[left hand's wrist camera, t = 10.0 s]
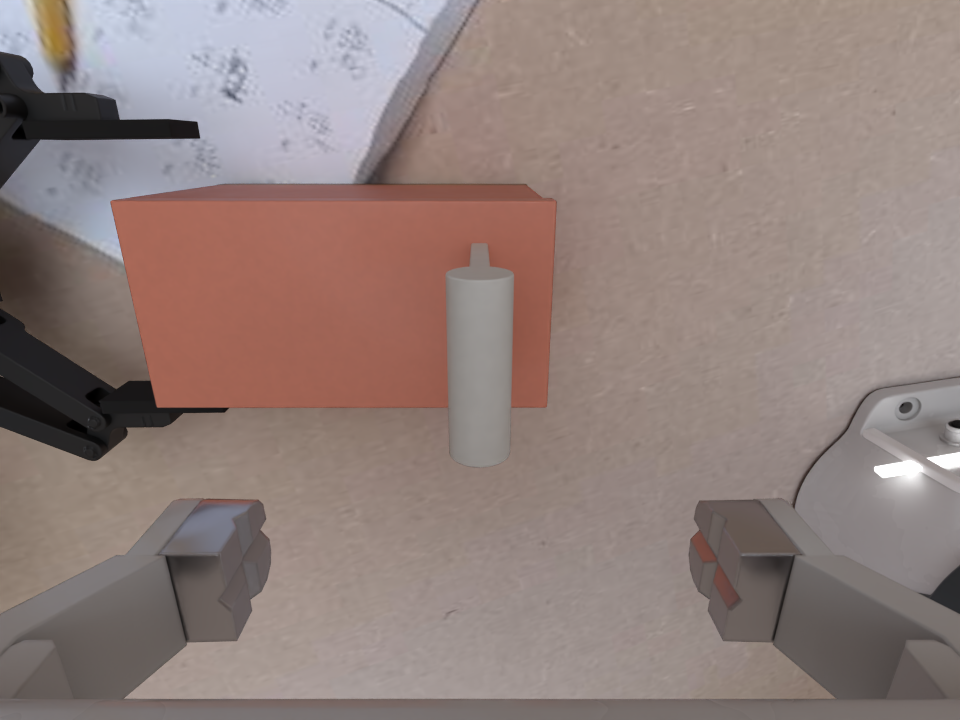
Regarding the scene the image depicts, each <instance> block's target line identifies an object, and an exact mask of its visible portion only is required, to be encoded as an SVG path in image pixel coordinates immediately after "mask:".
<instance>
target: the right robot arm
mask: <svg viewBox="0 0 960 720" xmlns="http://www.w3.org/2000/svg"><path fill="white" fill-rule="evenodd" d="M32 78H33V68H32V66H31V64H30V63H29V62H28V60H27V59H26V58H24V57H22V56H19V55H14V54H9V53H4V52H0V188H1V187H2V186H3V185H4V184H5V182H6V181H7V180H8V179H9V177H10V176H11V175H12V174H13V173H14V171H15V170H16V169H17V168H18V166H19V165H20V164H21V163H22V162H23V160H24V159H25V158H26V157H27V155H28V154H29V153H30V152H31V150H32V149H33V148H34V147H35V146H36V144H37V143H38V142H39V141H40V140H112V139H197V138H200V135H199V129H198V123H197V122H193V121H182V120H171V119H148V120H120V119H119V114H118V110H117V105H116V100H114V99H111V98H109V97H106V96H104V95H97V94H89V93H43V92H42V91H41V90H40V89H39V88H38V87H37V86H36V84H35V83H34V81H33V79H32ZM0 301H3V300H2V297H1V294H0ZM24 329H25V326H24V324H23V323H22V322H21V321H19V320H18V319H16V318H14V317H13V316H11V315H10V314H8V313H7V312H5V311H3V310H2V309H0V375H1V376H3V377H1V376H0V427H2V428H5V429H8V430H10V431H13V432H16V433H18V434H21V435H24V436H26V437H29V438H32V439H34V440H37V441H40V442H42V443H45V444H47V445H50V446H53V447H55V448H58V449H61V450H63V451H66V452H69V453H71V454H74V455H77V456H79V457H82V458H85V459H87V460H91V461H96V460H98V459H100V458H101V457H103V456H104V455H105V454H106V453H107V452H109V451H110V450H111V449H112V448H114V447H115V446H116V445H117V444H118V443H120V442H121V441H122V440H123V439H124V438H126V436H127V432H128V431H127V429H126V427H164V426H167V425H169V424H171V423H173V422H174V421H175V420H176V419H177V418H178V417H179V416H180V415H181V414H183V413H224V412H226V411H227V409H228V408H158V407H157V406H156V402H155V398H154V393H153V389H152V384H151V381H128V382H127V383H125V384H124V385H122V386H121V387H119V388H118V389H115V388H113V387H112V386H110V385H108V384H107V383H105V382H104V381H102V380H101V379H99V378H97V377H96V376H94V375H93V374H91V373H90V372H88V371H86V370H85V369H83V368H82V367H80V366H79V365H77V364H75V363H74V362H72V361H71V360H69V359H68V358H66V357H64V356H63V355H61V354H60V353H58V352H57V351H55V350H53V349H52V348H50V347H49V346H47V345H46V344H44V343H42V342H41V341H39V340H38V339H36V338H35V337H33V336H31V335H30V334H28V333H27V332H26V331H25V330H24Z"/></svg>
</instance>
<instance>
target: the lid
mask: <svg viewBox="0 0 960 720" xmlns="http://www.w3.org/2000/svg"><path fill="white" fill-rule="evenodd" d="M556 206H557V202H556V201H555V200H554V199H552V198H125V199H118V200H112V201H111V207H112V211H113V216H114V220H115V225H116V229H117V234H118V238H119V242H120V247H121V251H122V256H123V260H124V265H125V269H126V274H127V278H128V282H129V287H130V291H131V296H132V300H133V305H134V309H135V313H136V318H137V322H138V327H139V331H140V336H141V340H142V344H143V349H144V353H145V358H146V362H147V367H148V371H149V375H150V380H151V384H152V389H153V393H154V398H155V402H156V406H157V407H158V408H447V407H448V417H449V453H450V456H451V457H452V459H453V460H455V461H456V462H458V463H460V464H462V465H465V466H469V467H479V468H480V467H490V466H495V465H497V464H500V463H502V462H503V461H505V460H506V459H507V458H508V456H509V454H510V435H511V407H547V395H548V374H549V353H550V332H551V311H552V290H553V269H554V248H555V227H556Z"/></svg>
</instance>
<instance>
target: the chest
mask: <svg viewBox="0 0 960 720" xmlns="http://www.w3.org/2000/svg"><path fill="white" fill-rule="evenodd" d="M132 198H542V197H541V196H539V195H538V194H537V193H536V192H534V191H533V190H532V189H531V188H529V187H528V186H527V185H526V184H220V185H215V186H208V187H201V188H194V189H187V190H180V191H173V192H166V193H160V194H153V195H146V196H139V197H132Z"/></svg>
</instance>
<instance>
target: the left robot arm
mask: <svg viewBox="0 0 960 720" xmlns="http://www.w3.org/2000/svg"><path fill="white" fill-rule="evenodd" d="M904 402H905V403H904ZM902 403H904V405H903V406H902V407H901V408H899V407H900V405H901V404H902ZM265 520H266V516H265V511H264V506H263V504H262V503H261V502H260V501H259V500H244V499H178V500H174V501H173V502H172V503H171V504H170V505H169V506H168V507H167V508H166V509H165V511H164V512H163V513H162V514H161V515H160V516H159V517H158V518H157V520H156V521H155V522H154V523H153V524H152V525H151V526H150V528H149V529H148V530H147V531H146V532H145V533H144V534H143V536H142V537H141V538H140V539H139V540H138V541H137V542H136V543H135V545H134V546H133V547H132V548H131V549H130V550H129V551H128V553H127V554H126V555H116V556H114V557H112V558H110V559H108V560H106V561H104V562H102V563H100V564H98V565H96V566H94V567H92V568H90V569H88V570H86V571H84V572H82V573H80V574H78V575H76V576H74V577H72V578H70V579H68V580H66V581H64V582H62V583H60V584H59V585H57V586H55V587H53V588H51V589H49V590H47V591H45V592H43V593H41V594H39V595H37V596H35V597H33V598H31V599H29V600H27V601H25V602H23V603H21V604H19V605H17V606H15V607H13V608H11V609H9V610H7V611H5V612H3V613H1V614H0V720H960V377H958V378H951V379H944V380H937V381H930V382H924V383H917V384H910V385H903V386H896V387H890V388H883V389H879V390H876V391H874V392H872V393H871V394H870V395H869V396H868V397H867V398H866V399H865V400H864V401H863V403H862V404H861V406H860V407H859V409H858V411H857V413H856V414H855V416H854V418H853V420H852V422H851V424H850V427H849V429H848V430H847V431H846V432H845V434H844V435H843V436H842V437H841V438H840V439H839V440H838V441H837V442H836V443H835V444H834V445H833V446H832V447H831V448H829V449H828V450H827V451H826V452H825V453H824V454H823V455H822V456H821V458H820V459H819V460H818V461H817V462H816V463H815V465H814V466H813V467H812V469H811V470H810V472H809V473H808V475H807V476H806V478H805V480H804V482H803V484H802V486H801V488H800V491H799V493H798V496H797V500H796V504H795V509H794V508H793V507H792V506H791V505H790V504H789V503H788V502H787V501H785V500H783V499H781V498H773V499H753V500H701V501H699V502H698V504H697V506H696V510H695V515H694V520H695V522H696V524H697V526H698V527H699V529H700V530H699V531H698V532H697V533H696V534H695V535H694V536H693V537H692V538H691V540H690V548H689V563H690V571H691V574H692V578H693V581H694V583H695V585H696V587H697V590H698V592H700V593H701V594H703V595H704V596H705V597H707V598H708V599H710V601H709V607H708V612H709V614H710V616H711V618H712V620H713V622H714V624H715V626H716V628H717V630H718V632H719V634H720V636H721V638H722V640H723V641H741V642H774V643H773V645H774V646H775V647H776V648H778V649H779V650H780V651H781V652H782V653H783V654H785V655H786V656H787V657H788V658H789V659H791V660H792V661H793V662H794V663H795V664H796V665H798V666H799V667H800V668H801V669H802V670H804V671H805V672H806V673H807V674H808V675H809V676H811V677H812V678H813V679H814V680H815V681H817V682H818V683H819V684H820V685H821V686H822V687H824V688H825V689H826V690H827V691H828V692H830V693H831V694H832V695H833V696H834V697H835V698H837V699H124V698H125V697H126V696H127V695H128V694H129V693H131V692H132V691H133V690H134V689H135V688H137V687H138V686H139V685H140V684H141V683H142V682H144V681H145V680H146V679H147V678H148V677H150V676H151V675H152V674H153V673H154V672H156V671H157V670H158V669H159V668H160V667H161V666H163V665H164V664H165V663H166V662H167V661H169V660H170V659H171V658H172V657H173V656H174V655H176V654H177V653H178V652H179V651H180V650H182V649H183V648H184V647H185V646H186V645H187V643H186V642H218V641H237V640H238V638H239V636H240V634H241V632H242V630H243V628H244V626H245V624H246V622H247V620H248V618H249V616H250V614H251V612H252V607H251V601H250V599H252V598H253V597H255V596H256V595H257V594H259V593H260V592H262V590H263V587H264V585H265V583H266V581H267V578H268V574H269V569H270V565H271V547H270V540H269V538H268V537H267V536H266V535H265V534H264V533H263V532H262V531H261V530H260V529H261V527H262V526H263V524H264V522H265Z"/></svg>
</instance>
